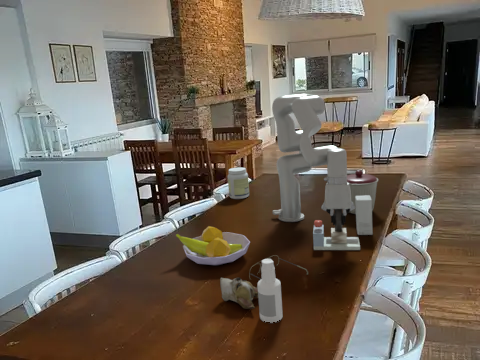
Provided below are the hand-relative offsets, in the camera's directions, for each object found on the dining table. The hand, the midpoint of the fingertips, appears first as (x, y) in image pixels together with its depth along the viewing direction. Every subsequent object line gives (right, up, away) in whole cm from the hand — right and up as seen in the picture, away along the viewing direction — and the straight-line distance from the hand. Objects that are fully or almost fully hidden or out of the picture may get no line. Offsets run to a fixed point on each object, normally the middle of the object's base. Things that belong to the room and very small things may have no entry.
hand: (338, 223), depth 173 cm
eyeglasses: (-26, -17, -21) cm, 38 cm away
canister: (+20, +2, +41) cm, 46 cm away
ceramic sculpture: (-39, -22, -36) cm, 57 cm away
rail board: (0, -9, +2) cm, 9 cm away
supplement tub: (-40, +8, +85) cm, 94 cm away
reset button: (-8, -1, +2) cm, 8 cm away
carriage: (+1, -7, +2) cm, 7 cm away
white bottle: (-30, -23, -46) cm, 60 cm away
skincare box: (+14, -5, +14) cm, 21 cm away
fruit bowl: (-50, -14, 0) cm, 52 cm away
